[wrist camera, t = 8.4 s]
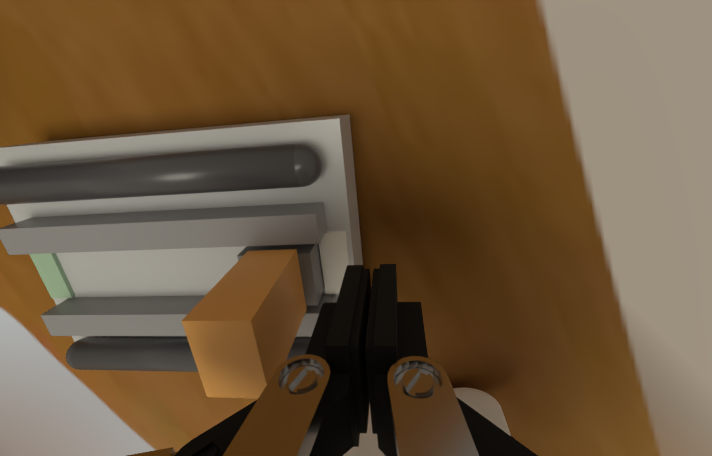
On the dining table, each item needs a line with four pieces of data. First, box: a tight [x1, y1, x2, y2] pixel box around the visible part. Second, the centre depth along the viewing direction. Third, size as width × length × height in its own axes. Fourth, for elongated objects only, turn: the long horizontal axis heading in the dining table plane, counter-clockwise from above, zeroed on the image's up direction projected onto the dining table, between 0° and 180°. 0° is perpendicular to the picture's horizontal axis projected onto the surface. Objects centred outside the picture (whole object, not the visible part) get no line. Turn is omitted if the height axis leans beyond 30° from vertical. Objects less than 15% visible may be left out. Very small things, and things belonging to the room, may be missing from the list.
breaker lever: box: [182, 244, 324, 398], centre depth 12 cm, size 3×3×6 cm
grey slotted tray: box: [0, 114, 363, 372], centre depth 16 cm, size 12×16×5 cm
